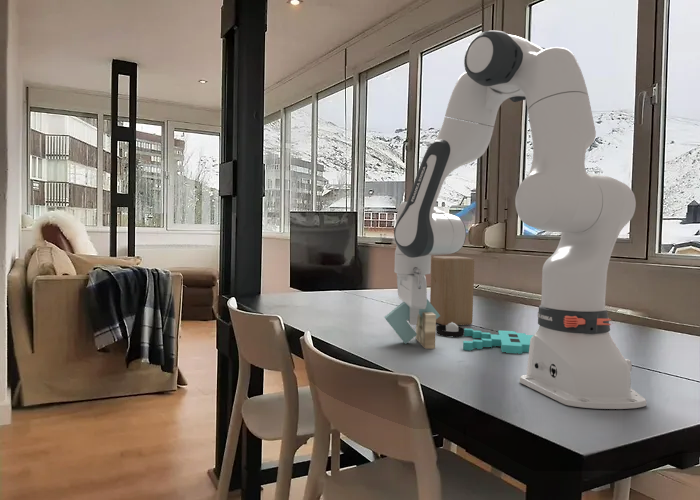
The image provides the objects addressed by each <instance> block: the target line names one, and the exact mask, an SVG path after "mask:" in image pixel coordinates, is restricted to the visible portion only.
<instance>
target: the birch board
mask: <svg viewBox="0 0 700 500" xmlns="http://www.w3.org/2000/svg"><path fill="white" fill-rule="evenodd" d="M436 324H437V323H436V315H435V314H434V313H433V312H423V313H422V317H421V316H420V315H419V314H418V318H417V325H415V332H416V334H417V335H416V336H415V339H416V340H417V342H418V343H419V344H420V345H421V346H422V347H423V348H424V349H426V350H427V349H432V350H433V349H434V350H435V349H436V334H437V330H436V327H437V325H436Z"/></svg>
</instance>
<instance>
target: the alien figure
mask: <svg viewBox="0 0 700 500" xmlns="http://www.w3.org/2000/svg"><path fill="white" fill-rule="evenodd" d="M463 328H464V327H463ZM497 332H498V334H492V333H491V332H486V331H485V332H482V330H477V329H476V330H474V329H473V328H464V335H463V337H467V336H472V340H462V341H463V342H462V351H471V350H474V349H473V348H477V349H476V350H483V347H491V348H490V349H492V347H496V346H501V347H500V349H501V353H502V352H506V354H517V353H518V354H520V355H522V354H523V353H529V347H530V340H531V338H532V337H533V336H534V335H535V334H526V333H525V332H523V333H522V332H516V330H502V329H501V330H500V329H499V330H498V331H497ZM475 338H481V339H475ZM518 354H517V355H518Z"/></svg>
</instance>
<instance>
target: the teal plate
mask: <svg viewBox="0 0 700 500" xmlns="http://www.w3.org/2000/svg"><path fill="white" fill-rule="evenodd" d="M409 309H410V307H409V306H408V305H407V304H406V303H405V302H403V301H402V302H401V303H399V305H397V306H396V307H395V308H394V309H392V310H391V311H390V312H389V313H387V314H386V315H385V316H383V318H384V319H385V321H387V323H388V324H389V325H390V327H391V328H392V329H393V330H394V332H395V333H396V335H398V337H399V338H400V339H401V341H402V342H403V343H404V344H405V345H406V344H408V343H409V342H410V341H411V340H412V339H414V338H416V335H417V334H416V330H414V329H413V327H412V325H411V324H410V323H409V321H407V320H408V319H409V317H410V310H409ZM423 312H433V313H434V314H435V315H436V319H437V318H438V317H440V315H439V313H438V312H437V311H436V310H435V308H434V307H433V306H432V304H431V303H430V300H429V299H428V298H427V305H426V308H425V309H419V315H420V316H421V317H422V313H423Z"/></svg>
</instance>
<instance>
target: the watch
mask: <svg viewBox="0 0 700 500" xmlns="http://www.w3.org/2000/svg"><path fill="white" fill-rule="evenodd" d="M436 335H438V336H441V335H443V336H442V337H447V336H453V337H452V338H459V337H460V338H461V337H464V327H462V326H460V325H456V324H455V323H453V322H451V323H449V324H448V325H441V324H438V325H436Z"/></svg>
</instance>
